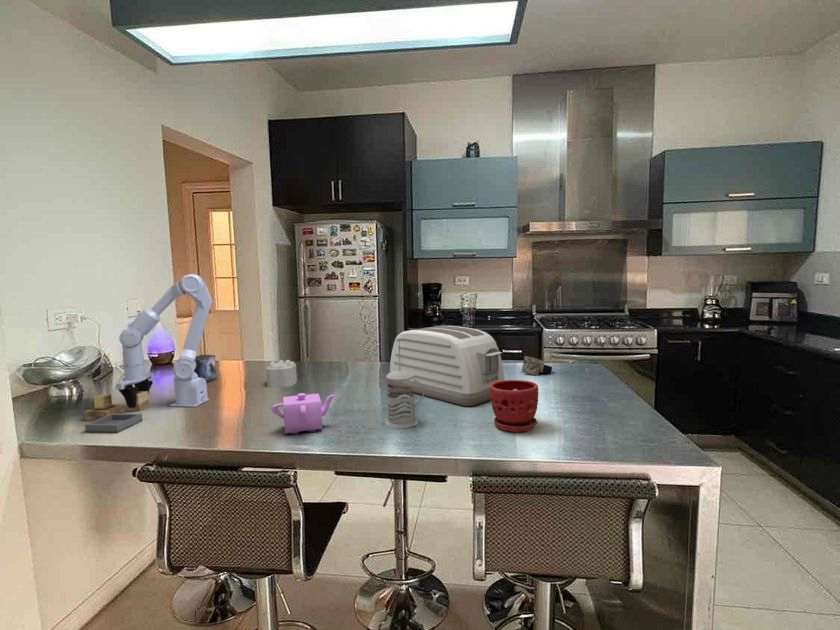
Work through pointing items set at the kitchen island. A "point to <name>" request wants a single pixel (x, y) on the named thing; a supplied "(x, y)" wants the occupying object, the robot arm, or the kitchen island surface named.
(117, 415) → the tray
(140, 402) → the block
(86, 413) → the brown rectangular frame
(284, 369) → the lumpy-topped squat cylinder
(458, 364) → the toaster
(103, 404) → the gold rectangular block
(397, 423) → the french press
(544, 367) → the mottled grey-brown block
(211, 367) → the small box
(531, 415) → the plant pot
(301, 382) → the kitchen island surface
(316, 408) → the teapot
